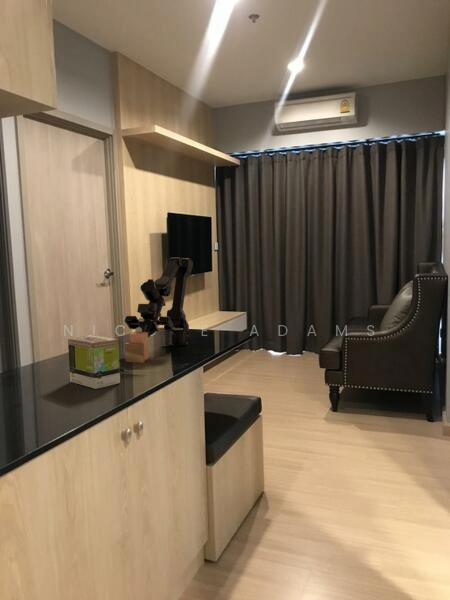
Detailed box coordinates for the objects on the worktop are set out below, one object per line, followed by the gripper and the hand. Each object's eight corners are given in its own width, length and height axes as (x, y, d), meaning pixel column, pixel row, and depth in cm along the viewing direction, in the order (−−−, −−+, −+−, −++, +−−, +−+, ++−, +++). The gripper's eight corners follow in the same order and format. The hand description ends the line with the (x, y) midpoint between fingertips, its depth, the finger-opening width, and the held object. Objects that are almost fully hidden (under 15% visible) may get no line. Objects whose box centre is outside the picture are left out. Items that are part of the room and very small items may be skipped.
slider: (137, 357, 198) (135, 326, 196) (148, 358, 196) (147, 326, 195) (131, 360, 193) (129, 328, 192) (143, 360, 192) (141, 328, 190)
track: (146, 355, 207) (145, 335, 206) (162, 356, 205) (161, 336, 204) (125, 365, 192) (124, 343, 191) (142, 366, 189) (141, 344, 188)
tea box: (121, 383, 167) (119, 338, 165) (94, 390, 160) (92, 343, 158) (95, 376, 177) (93, 333, 176) (69, 382, 170) (66, 337, 168)
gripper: (125, 295, 202) (112, 327, 193) (169, 295, 196) (157, 329, 187) (136, 312, 211) (123, 344, 202) (178, 313, 205) (167, 346, 196)
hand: (142, 340), depth 196 cm, fingers closed, pressing on slider
